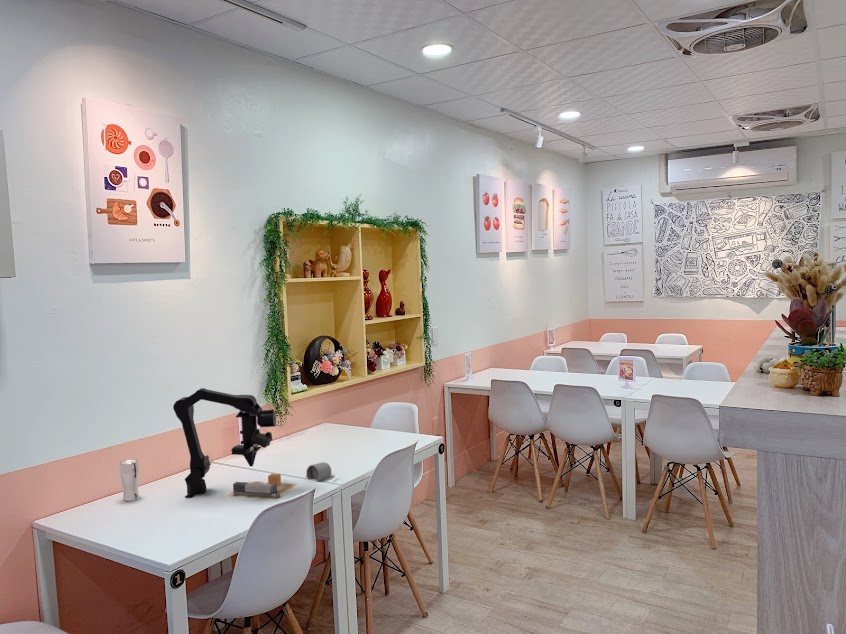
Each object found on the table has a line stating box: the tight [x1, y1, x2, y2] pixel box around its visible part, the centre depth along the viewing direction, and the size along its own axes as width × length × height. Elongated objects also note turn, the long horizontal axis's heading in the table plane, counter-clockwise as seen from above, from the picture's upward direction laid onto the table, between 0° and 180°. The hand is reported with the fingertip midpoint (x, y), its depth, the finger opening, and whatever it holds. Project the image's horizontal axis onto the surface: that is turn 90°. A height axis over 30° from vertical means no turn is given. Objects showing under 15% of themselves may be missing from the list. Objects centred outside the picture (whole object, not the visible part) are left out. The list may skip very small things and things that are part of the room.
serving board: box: [226, 480, 298, 501], centre depth 259 cm, size 22×18×1 cm
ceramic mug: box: [305, 462, 332, 482], centre depth 273 cm, size 11×8×8 cm
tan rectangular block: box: [267, 473, 282, 486], centre depth 265 cm, size 4×3×4 cm
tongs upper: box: [232, 481, 273, 493], centre depth 252 cm, size 16×3×3 cm, turn 75°
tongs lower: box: [232, 484, 281, 500], centre depth 252 cm, size 19×4×5 cm, turn 75°
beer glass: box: [119, 458, 140, 503], centre depth 256 cm, size 7×7×15 cm
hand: (251, 466), depth 258 cm, fingers closed
